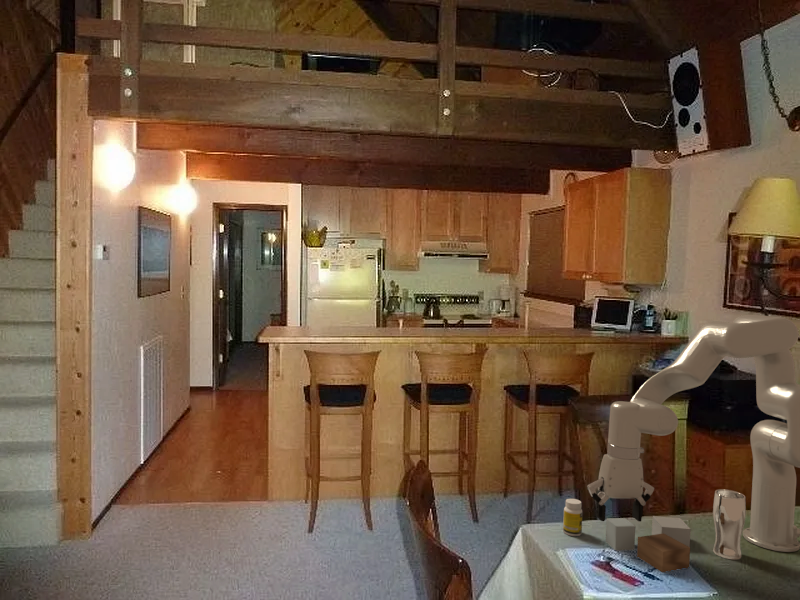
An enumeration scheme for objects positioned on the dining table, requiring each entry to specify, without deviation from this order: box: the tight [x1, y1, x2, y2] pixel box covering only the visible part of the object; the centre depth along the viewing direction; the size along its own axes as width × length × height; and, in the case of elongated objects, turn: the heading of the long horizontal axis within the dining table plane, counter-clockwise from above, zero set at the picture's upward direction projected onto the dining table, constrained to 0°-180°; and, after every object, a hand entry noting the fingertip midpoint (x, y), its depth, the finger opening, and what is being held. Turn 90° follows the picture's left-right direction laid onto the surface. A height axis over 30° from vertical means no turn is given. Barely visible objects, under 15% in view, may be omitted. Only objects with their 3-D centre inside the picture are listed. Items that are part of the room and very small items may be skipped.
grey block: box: [651, 515, 692, 548], centre depth 150 cm, size 7×7×5 cm
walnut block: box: [636, 533, 691, 573], centre depth 137 cm, size 8×8×5 cm
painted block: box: [605, 517, 636, 551], centre depth 146 cm, size 5×5×6 cm
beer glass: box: [712, 489, 747, 561], centre depth 143 cm, size 7×7×15 cm
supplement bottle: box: [562, 498, 583, 537], centre depth 152 cm, size 5×5×8 cm
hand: (618, 519), depth 145 cm, fingers open, 9 cm apart
